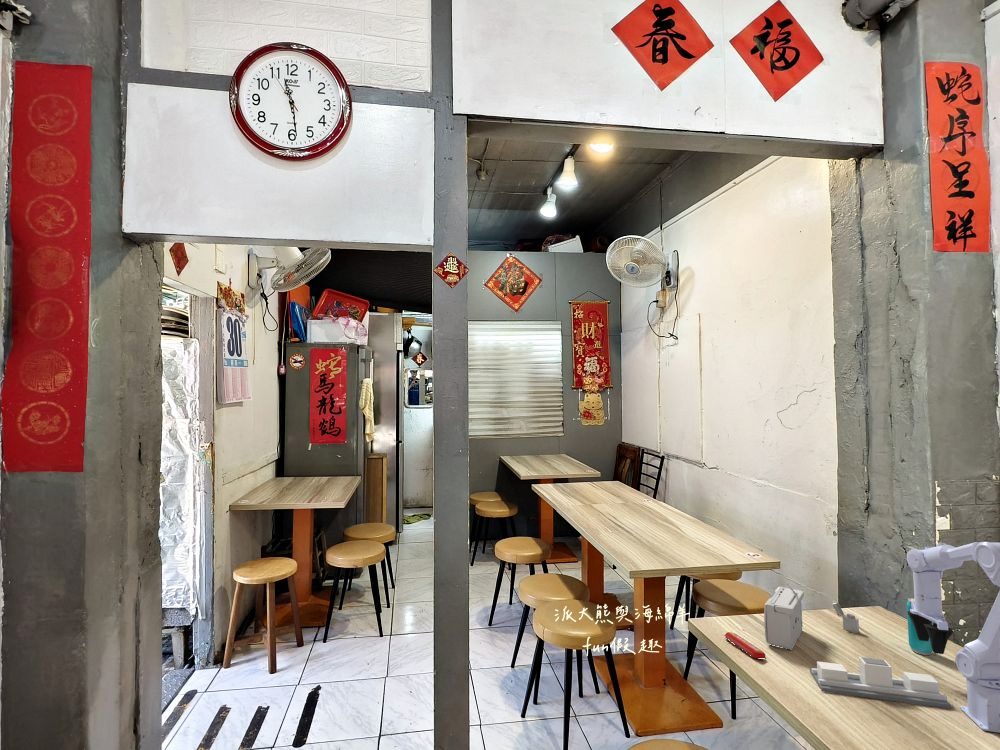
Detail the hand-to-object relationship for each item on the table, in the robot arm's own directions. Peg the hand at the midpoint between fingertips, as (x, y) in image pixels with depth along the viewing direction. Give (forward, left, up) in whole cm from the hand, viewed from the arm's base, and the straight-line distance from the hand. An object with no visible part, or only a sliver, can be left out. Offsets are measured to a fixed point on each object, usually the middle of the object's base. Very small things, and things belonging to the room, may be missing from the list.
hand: (930, 646), depth 137 cm
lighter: (+32, +10, -10) cm, 35 cm away
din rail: (-8, +16, -9) cm, 20 cm away
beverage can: (+20, -6, -10) cm, 23 cm away
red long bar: (+7, +45, -10) cm, 47 cm away
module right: (-8, +6, -9) cm, 14 cm away
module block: (-8, +16, -8) cm, 20 cm away
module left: (-8, +26, -9) cm, 29 cm away
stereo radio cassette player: (+19, +31, -10) cm, 38 cm away
